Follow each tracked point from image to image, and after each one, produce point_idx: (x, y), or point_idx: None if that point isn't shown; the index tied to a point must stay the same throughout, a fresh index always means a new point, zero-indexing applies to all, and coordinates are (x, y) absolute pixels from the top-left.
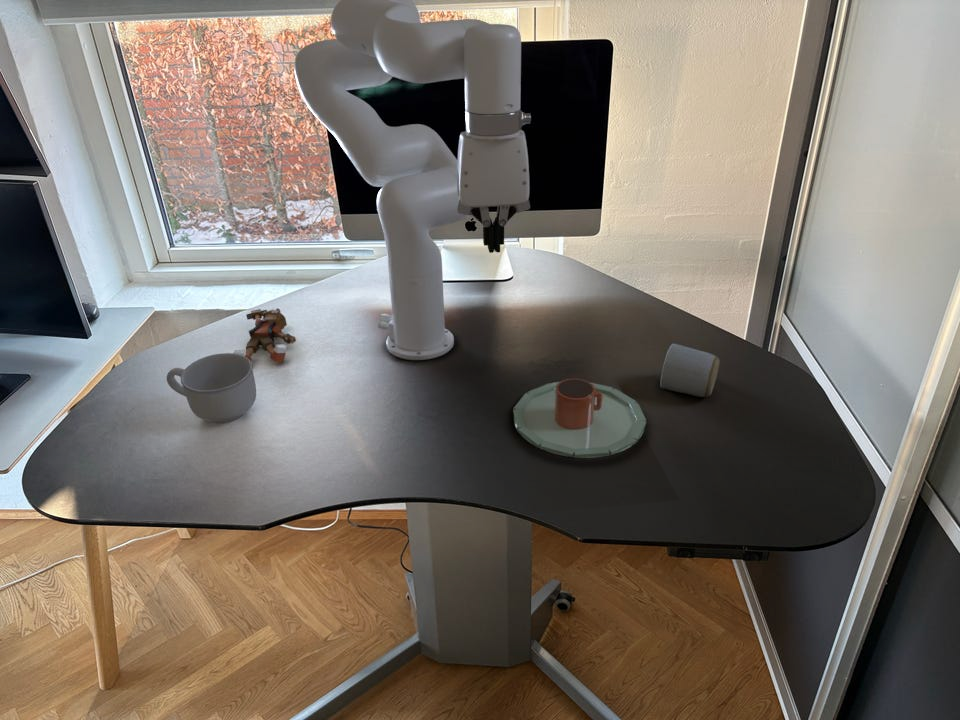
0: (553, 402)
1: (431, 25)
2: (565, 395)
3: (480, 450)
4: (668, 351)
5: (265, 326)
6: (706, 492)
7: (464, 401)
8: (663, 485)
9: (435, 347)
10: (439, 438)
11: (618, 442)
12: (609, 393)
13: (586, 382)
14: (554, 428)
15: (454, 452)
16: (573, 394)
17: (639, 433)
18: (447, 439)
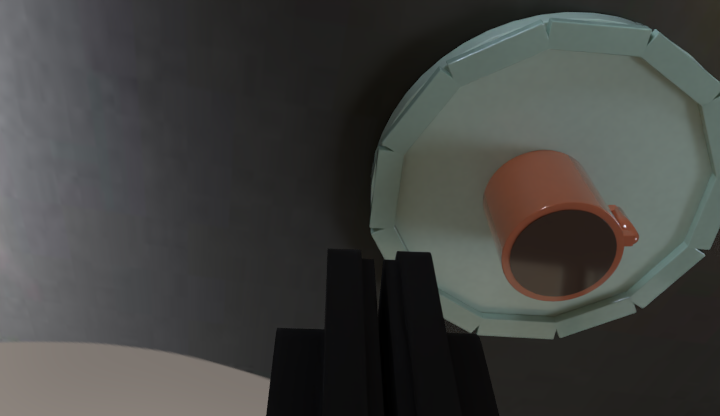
0: (512, 116)
1: None
2: (518, 282)
3: (269, 243)
4: None
5: None
6: (679, 409)
7: (242, 15)
8: (616, 386)
9: None
10: (164, 184)
11: (592, 314)
12: (698, 105)
13: (610, 232)
14: (469, 228)
15: (204, 240)
16: (542, 281)
17: (659, 292)
18: (186, 191)
